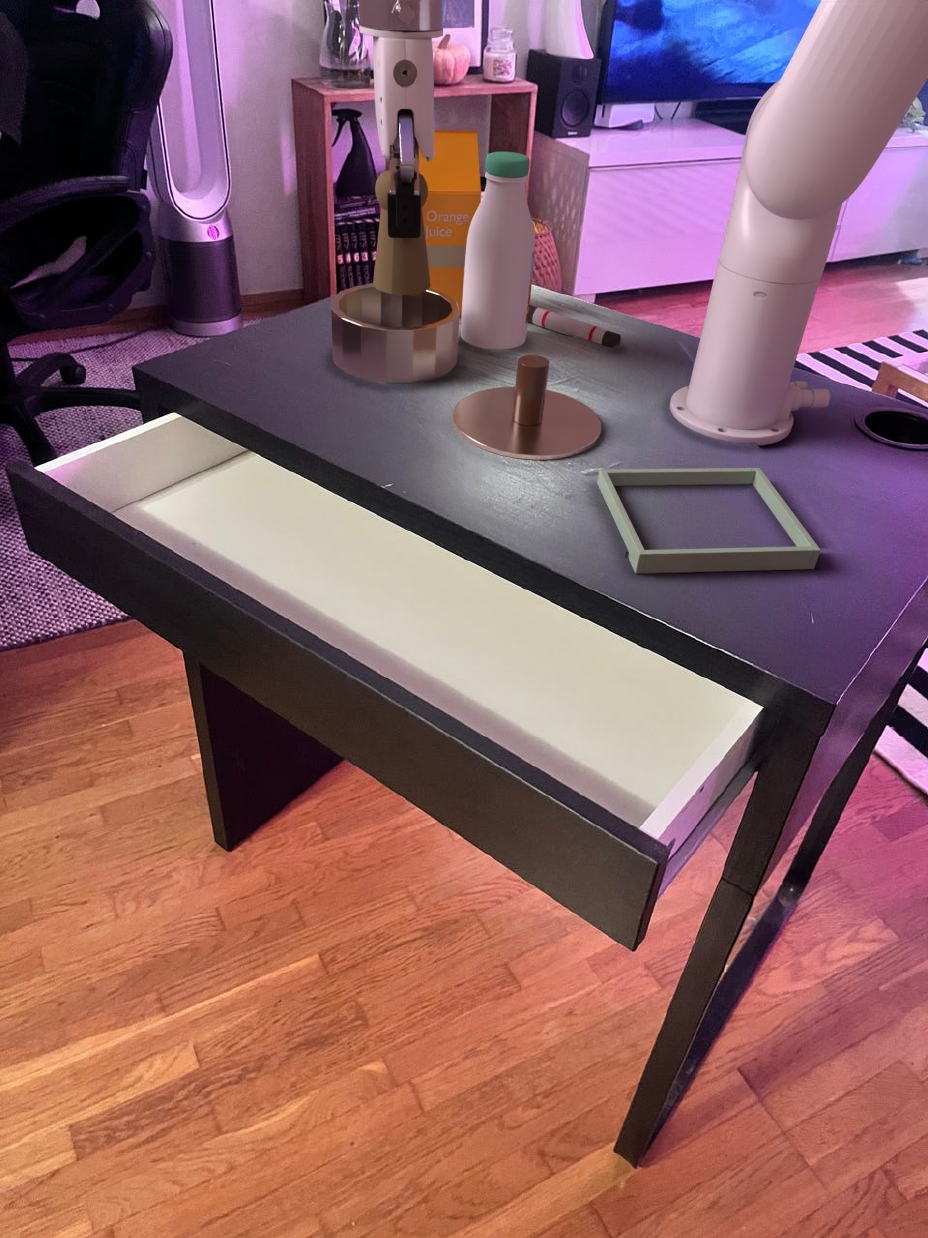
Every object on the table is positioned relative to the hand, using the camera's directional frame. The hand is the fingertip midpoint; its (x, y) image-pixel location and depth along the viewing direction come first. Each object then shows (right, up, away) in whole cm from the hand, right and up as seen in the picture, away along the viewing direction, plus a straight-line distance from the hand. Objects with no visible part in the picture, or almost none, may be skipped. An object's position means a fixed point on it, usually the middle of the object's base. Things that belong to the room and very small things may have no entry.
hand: (401, 225), depth 93 cm
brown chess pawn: (0, -5, +4) cm, 6 cm away
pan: (-1, -11, +9) cm, 14 cm away
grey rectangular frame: (+27, -32, -14) cm, 44 cm away
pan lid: (+13, -20, -2) cm, 24 cm away
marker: (+18, -5, +19) cm, 27 cm away
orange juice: (+2, 0, +23) cm, 23 cm away
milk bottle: (+10, -7, +16) cm, 20 cm away
